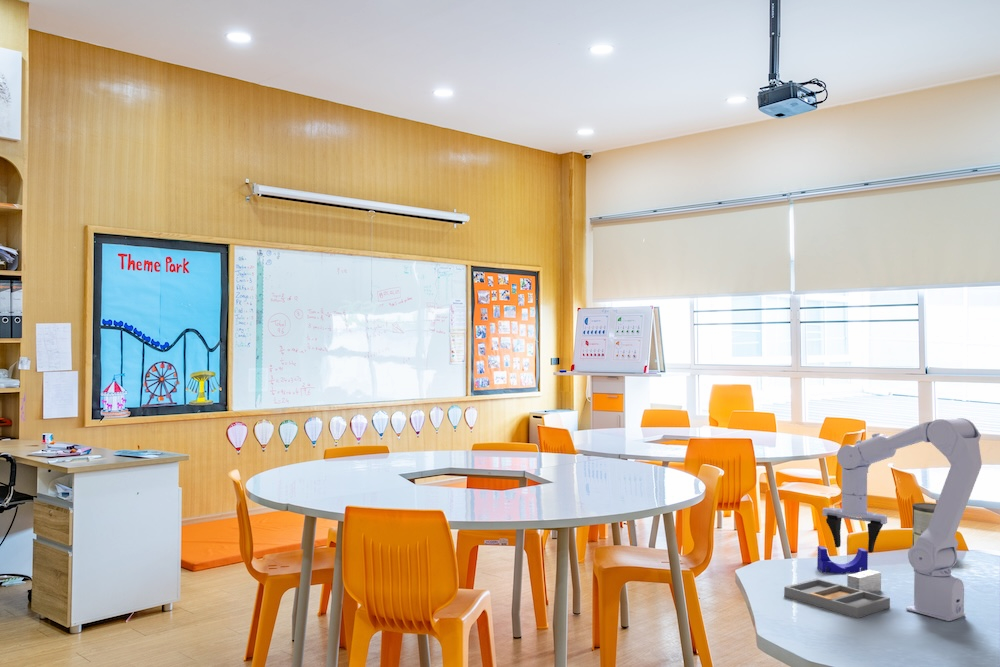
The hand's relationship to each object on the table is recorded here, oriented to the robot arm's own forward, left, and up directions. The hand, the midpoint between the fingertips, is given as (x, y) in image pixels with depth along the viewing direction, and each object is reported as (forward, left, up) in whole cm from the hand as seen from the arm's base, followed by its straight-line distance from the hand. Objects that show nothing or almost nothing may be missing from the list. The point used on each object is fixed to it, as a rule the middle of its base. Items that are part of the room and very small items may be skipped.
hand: (854, 549), depth 194 cm
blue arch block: (+11, -14, -10) cm, 20 cm away
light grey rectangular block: (-2, -1, -10) cm, 10 cm away
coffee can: (+8, -56, -10) cm, 57 cm away
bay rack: (-3, +13, -10) cm, 17 cm away
